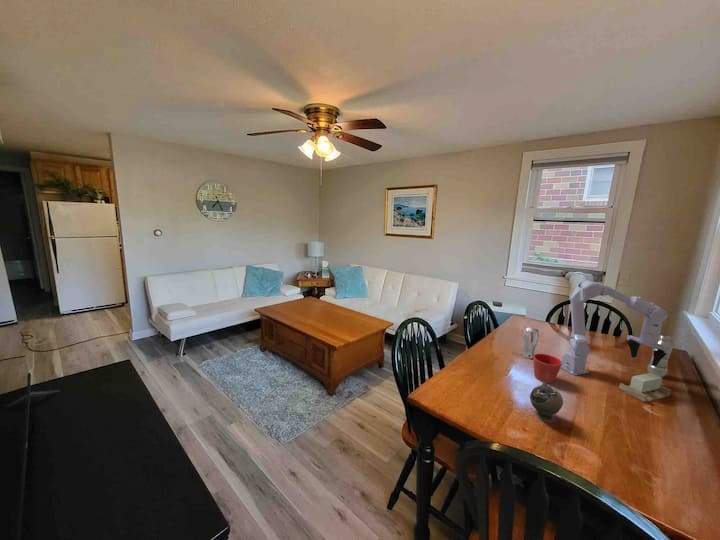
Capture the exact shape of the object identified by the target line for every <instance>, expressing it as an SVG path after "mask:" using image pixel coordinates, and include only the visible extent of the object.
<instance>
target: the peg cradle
mask: <svg viewBox="0 0 720 540" xmlns="http://www.w3.org/2000/svg"><path fill="white" fill-rule="evenodd" d="M618 390H619V391H620V392H622V393H624V394H627V395H628V396H629V397H633V398H635V399H636V400H639V401H640V402H642V403H645V404H646V403H648V402H651V401H655V400H660V399H663V398H667V397H670V394H671V388H668V387H665V386H663V385H662V384H661V385H660V388H659V389H655V390H651V391H646V392H642V393H641V392H639V391H637V390H635V389H633V388H631V387H630V385H626V384H624V383H622V382H620V383H619V387H618Z"/></svg>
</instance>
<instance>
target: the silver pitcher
mask: <svg viewBox="0 0 720 540" xmlns="http://www.w3.org/2000/svg"><path fill="white" fill-rule="evenodd" d="M539 334H540V330H539V329H537V328H535V327H530V326H528V327H524V329H523V335H522V351H521V356H522V357H523V358H524V359H525V358H526V359H528V360H533V356H534V355H535V351H536V347H537V345H538V342H539V336H540V335H539Z"/></svg>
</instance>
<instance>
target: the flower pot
mask: <svg viewBox="0 0 720 540" xmlns="http://www.w3.org/2000/svg"><path fill="white" fill-rule="evenodd" d="M532 360H533V373H534V378H535V379H536V380H537V381H539V382H542V383H544V382H545V381H546V383H547V384H553V383H554V382H555V381H556V378H557V376H558V374H559V371H561V370H560V369H561V368H560V367H561V365H562V360H560V359H559V358H557V357H556V356H553V355H550V354H548V353H547V354H546V353H534V356H533V359H532Z"/></svg>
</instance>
